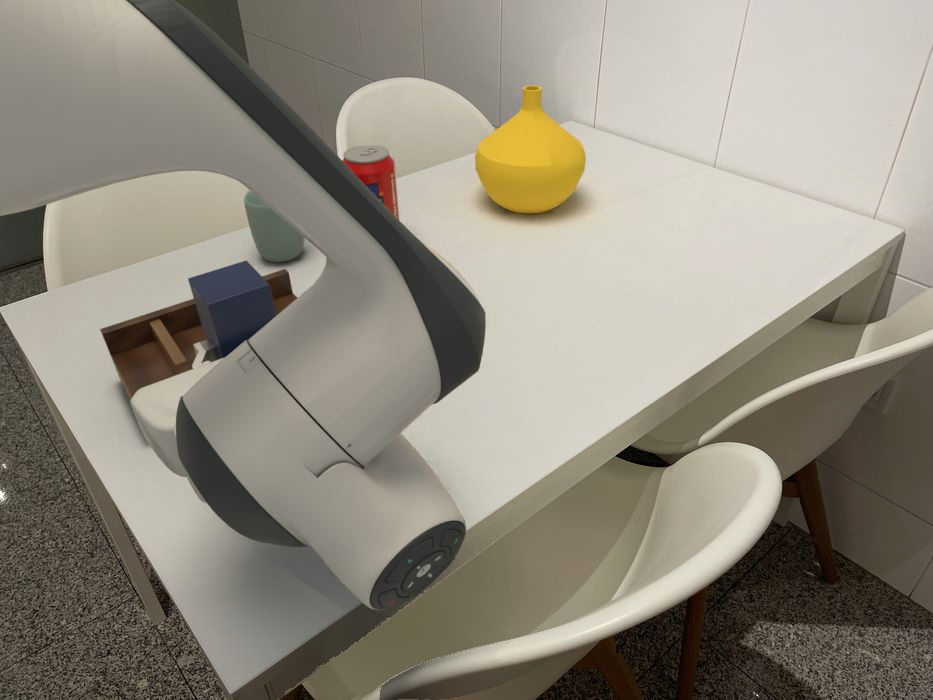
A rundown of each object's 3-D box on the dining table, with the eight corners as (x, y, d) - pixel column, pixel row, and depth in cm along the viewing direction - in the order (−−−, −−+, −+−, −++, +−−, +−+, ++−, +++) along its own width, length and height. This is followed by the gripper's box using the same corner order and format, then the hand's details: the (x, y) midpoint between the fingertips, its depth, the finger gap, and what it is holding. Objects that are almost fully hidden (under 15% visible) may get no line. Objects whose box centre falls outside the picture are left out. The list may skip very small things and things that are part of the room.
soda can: (411, 241, 110) (404, 148, 101) (380, 262, 104) (369, 166, 95) (373, 230, 113) (363, 139, 104) (340, 250, 108) (327, 155, 99)
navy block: (243, 430, 61) (207, 304, 53) (224, 400, 64) (187, 278, 56) (296, 407, 63) (269, 284, 55) (275, 380, 66) (246, 259, 59)
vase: (453, 204, 120) (449, 91, 109) (520, 172, 131) (522, 66, 120) (538, 236, 110) (543, 114, 99) (602, 198, 121) (614, 85, 110)
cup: (255, 248, 109) (241, 188, 103) (305, 240, 111) (294, 180, 105) (258, 272, 103) (244, 209, 97) (311, 263, 105) (300, 201, 99)
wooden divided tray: (150, 442, 74) (127, 383, 69) (122, 384, 82) (99, 328, 77) (337, 365, 84) (327, 310, 79) (295, 321, 92) (285, 268, 87)
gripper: (425, 337, 54) (343, 266, 63) (154, 448, 44) (104, 346, 54) (429, 399, 57) (351, 324, 67) (180, 514, 48) (129, 408, 57)
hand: (239, 335), depth 60 cm, fingers closed on navy block, 5 cm apart
